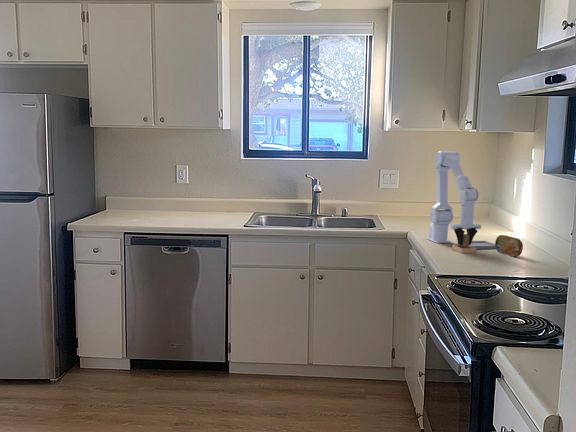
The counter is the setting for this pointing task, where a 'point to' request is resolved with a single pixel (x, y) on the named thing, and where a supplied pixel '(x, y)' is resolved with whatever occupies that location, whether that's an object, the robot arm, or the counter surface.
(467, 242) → the brown rounded cylinder
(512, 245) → the tin
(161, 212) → the counter surface
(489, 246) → the tray
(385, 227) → the counter surface
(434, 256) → the counter surface
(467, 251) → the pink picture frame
